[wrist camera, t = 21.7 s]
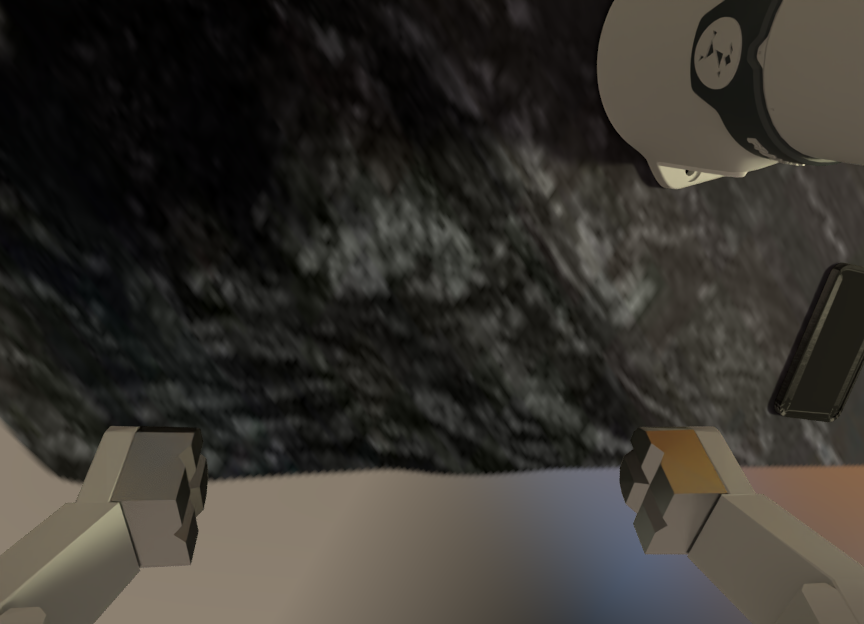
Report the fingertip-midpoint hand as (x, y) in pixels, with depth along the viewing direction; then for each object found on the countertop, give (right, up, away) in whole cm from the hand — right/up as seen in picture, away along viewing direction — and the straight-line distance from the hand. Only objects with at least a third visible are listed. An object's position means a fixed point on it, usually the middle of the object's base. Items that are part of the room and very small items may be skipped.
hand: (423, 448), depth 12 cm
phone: (+37, 0, +50) cm, 62 cm away
